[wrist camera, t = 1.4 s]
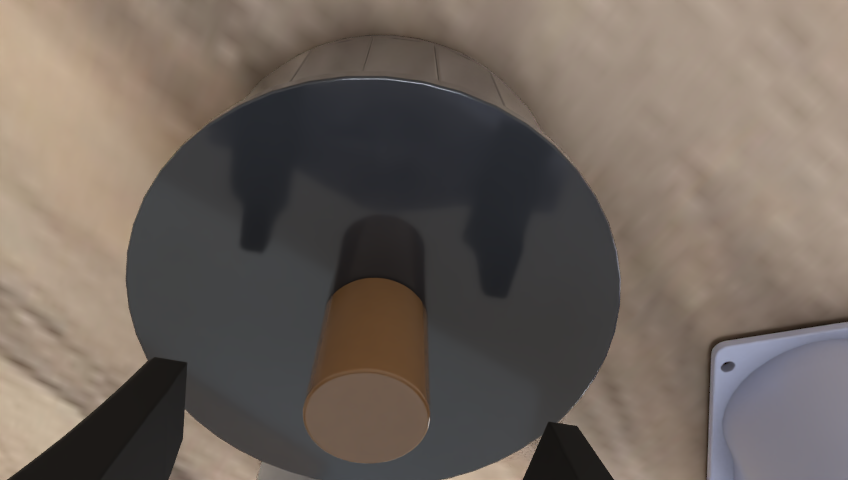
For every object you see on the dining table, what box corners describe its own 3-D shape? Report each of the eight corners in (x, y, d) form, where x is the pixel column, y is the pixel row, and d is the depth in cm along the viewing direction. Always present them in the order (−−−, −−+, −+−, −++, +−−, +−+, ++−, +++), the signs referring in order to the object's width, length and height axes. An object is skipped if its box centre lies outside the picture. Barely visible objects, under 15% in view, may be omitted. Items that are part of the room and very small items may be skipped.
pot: (567, 313, 24) (610, 433, 18) (276, 361, 24) (238, 488, 19) (534, -2, 18) (583, 40, 13) (163, 75, 19) (67, 143, 14)
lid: (619, 426, 19) (672, 565, 15) (235, 482, 20) (191, 627, 16) (594, 11, 13) (670, 60, 9) (55, 121, 14) (-83, 207, 10)
